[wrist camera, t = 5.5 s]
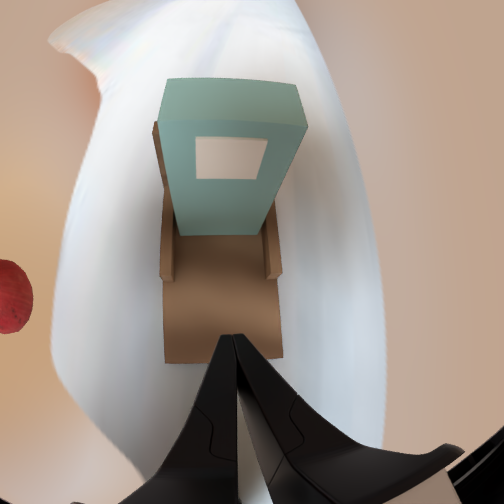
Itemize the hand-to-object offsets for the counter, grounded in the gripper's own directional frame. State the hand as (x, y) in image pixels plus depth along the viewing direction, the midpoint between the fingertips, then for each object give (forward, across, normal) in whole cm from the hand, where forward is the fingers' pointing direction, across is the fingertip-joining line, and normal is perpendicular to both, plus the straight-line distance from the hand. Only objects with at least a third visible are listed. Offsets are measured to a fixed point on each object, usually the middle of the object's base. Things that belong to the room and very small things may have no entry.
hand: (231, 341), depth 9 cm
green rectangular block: (+13, 0, 0) cm, 13 cm away
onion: (+10, +18, +6) cm, 21 cm away
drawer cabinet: (+12, 0, +4) cm, 12 cm away
